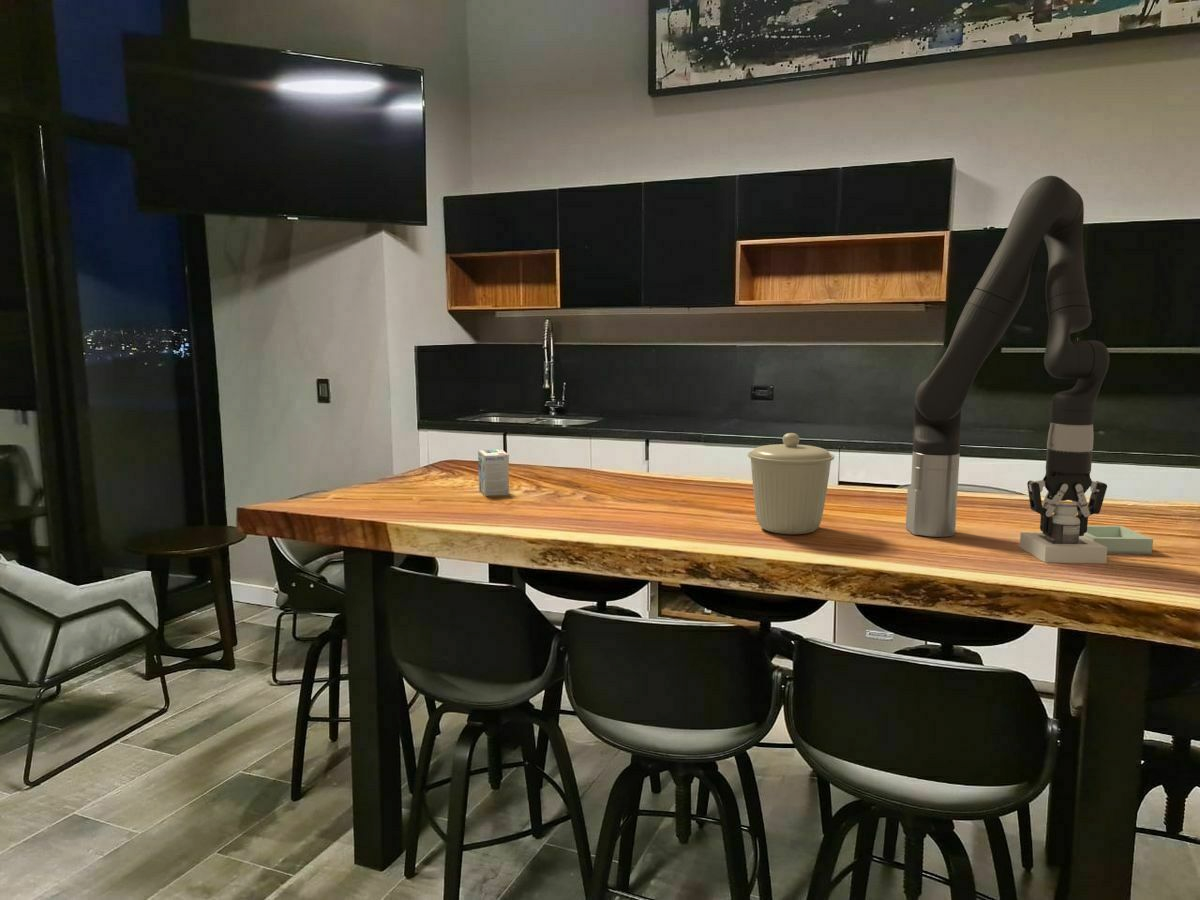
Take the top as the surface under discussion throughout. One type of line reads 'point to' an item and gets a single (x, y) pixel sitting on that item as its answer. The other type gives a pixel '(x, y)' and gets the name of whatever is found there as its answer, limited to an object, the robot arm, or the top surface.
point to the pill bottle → (1065, 525)
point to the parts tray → (1120, 539)
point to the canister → (790, 485)
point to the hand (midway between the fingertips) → (1063, 534)
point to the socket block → (1063, 549)
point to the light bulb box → (493, 472)
